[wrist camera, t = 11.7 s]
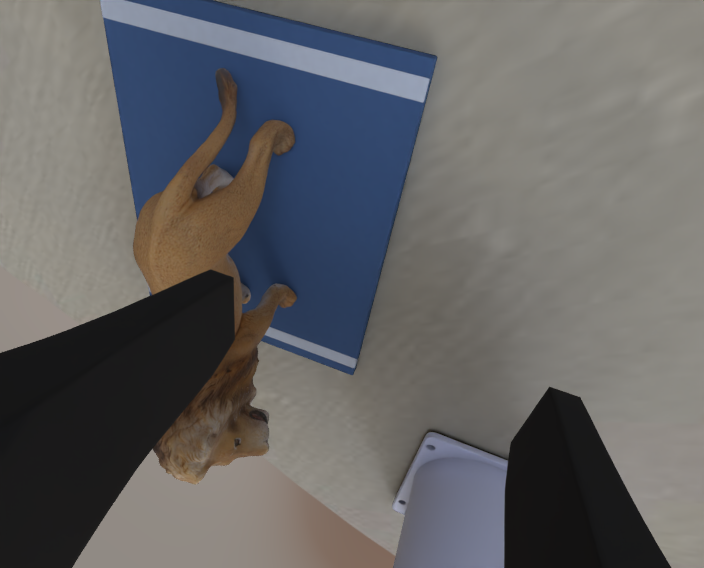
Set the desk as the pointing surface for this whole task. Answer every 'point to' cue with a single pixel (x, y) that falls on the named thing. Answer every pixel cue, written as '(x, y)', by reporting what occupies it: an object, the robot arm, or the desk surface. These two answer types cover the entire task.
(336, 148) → the towel
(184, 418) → the lion figurine
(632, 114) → the desk surface
